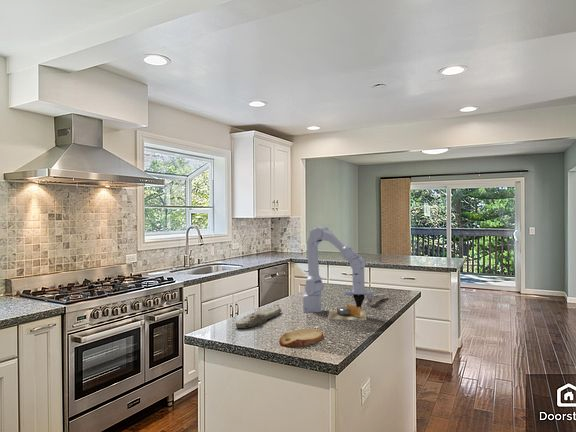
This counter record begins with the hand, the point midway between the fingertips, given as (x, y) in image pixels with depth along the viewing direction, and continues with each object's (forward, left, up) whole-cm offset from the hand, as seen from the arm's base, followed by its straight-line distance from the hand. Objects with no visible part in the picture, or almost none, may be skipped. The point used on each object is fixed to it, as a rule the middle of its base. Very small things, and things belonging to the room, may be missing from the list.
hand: (358, 310), depth 187 cm
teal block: (-2, -7, -3) cm, 7 cm away
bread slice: (-23, -37, -4) cm, 43 cm away
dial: (-5, 0, -2) cm, 5 cm away
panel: (-6, +1, -4) cm, 7 cm away
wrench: (+10, +34, -4) cm, 36 cm away
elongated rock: (-47, -10, -4) cm, 48 cm away
